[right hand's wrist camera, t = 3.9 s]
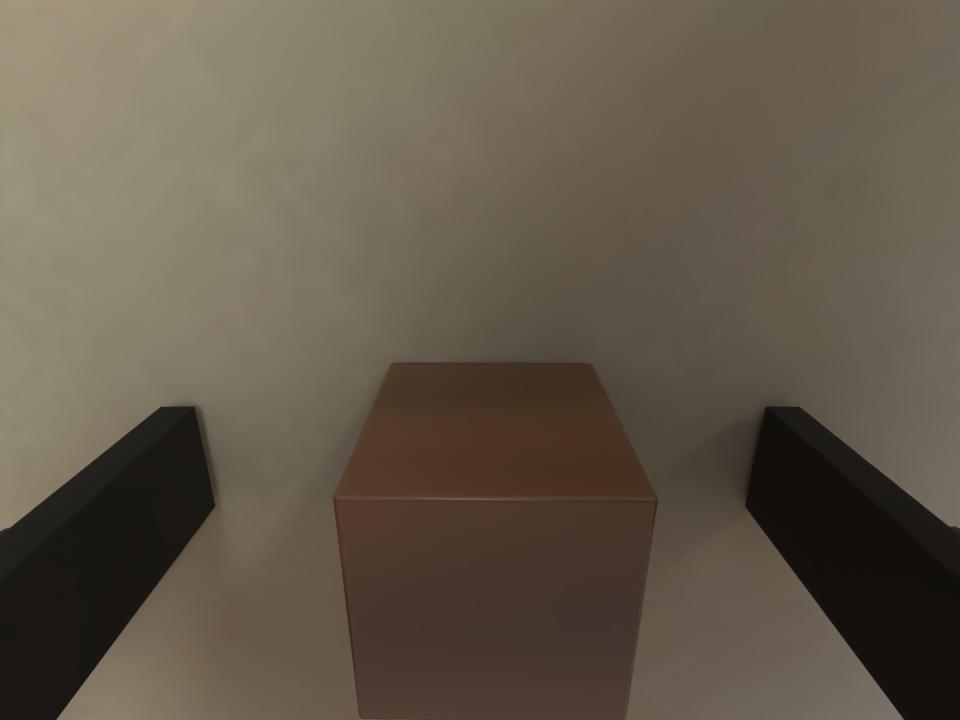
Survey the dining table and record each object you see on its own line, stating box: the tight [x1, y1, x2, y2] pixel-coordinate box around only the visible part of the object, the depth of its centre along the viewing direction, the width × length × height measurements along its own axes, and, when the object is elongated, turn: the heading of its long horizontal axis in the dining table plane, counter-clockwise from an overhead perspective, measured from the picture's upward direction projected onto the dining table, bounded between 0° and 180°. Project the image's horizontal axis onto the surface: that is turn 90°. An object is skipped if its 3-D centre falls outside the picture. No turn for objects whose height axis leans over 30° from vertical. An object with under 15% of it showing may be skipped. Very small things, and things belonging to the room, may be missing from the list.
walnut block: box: [333, 363, 658, 720], centre depth 11 cm, size 4×4×5 cm
